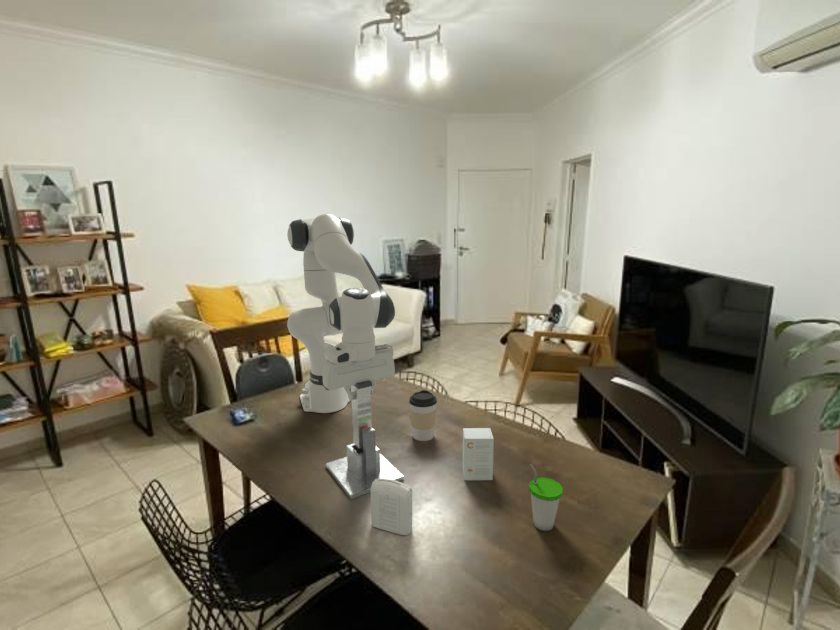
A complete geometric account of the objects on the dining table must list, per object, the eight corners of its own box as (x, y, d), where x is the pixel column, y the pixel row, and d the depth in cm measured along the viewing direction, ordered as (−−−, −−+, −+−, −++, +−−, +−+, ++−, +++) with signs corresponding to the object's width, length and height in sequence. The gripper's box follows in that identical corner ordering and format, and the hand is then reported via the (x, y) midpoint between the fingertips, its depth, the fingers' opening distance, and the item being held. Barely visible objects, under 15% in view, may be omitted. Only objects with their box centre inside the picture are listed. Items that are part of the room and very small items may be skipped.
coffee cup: (434, 444, 146) (434, 400, 142) (406, 441, 147) (406, 398, 144) (438, 430, 154) (438, 389, 151) (412, 428, 156) (412, 387, 152)
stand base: (326, 466, 133) (323, 418, 129) (374, 451, 141) (373, 405, 138) (351, 499, 118) (348, 445, 115) (403, 479, 127) (402, 429, 123)
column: (351, 441, 129) (349, 377, 125) (364, 437, 131) (362, 375, 127) (360, 450, 124) (358, 384, 120) (373, 446, 126) (371, 381, 122)
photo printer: (415, 526, 108) (414, 480, 105) (408, 538, 104) (407, 491, 101) (376, 516, 112) (375, 471, 109) (368, 527, 108) (366, 481, 105)
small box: (489, 468, 132) (490, 427, 129) (492, 480, 126) (494, 438, 123) (461, 468, 132) (462, 427, 129) (463, 481, 126) (464, 438, 123)
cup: (567, 531, 106) (572, 474, 103) (539, 539, 104) (542, 482, 100) (547, 511, 113) (550, 457, 110) (520, 518, 111) (523, 463, 107)
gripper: (387, 340, 129) (388, 385, 132) (318, 352, 118) (321, 401, 122) (398, 345, 124) (399, 392, 127) (327, 359, 113) (330, 410, 117)
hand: (360, 397), depth 124 cm, fingers closed on column, 4 cm apart
